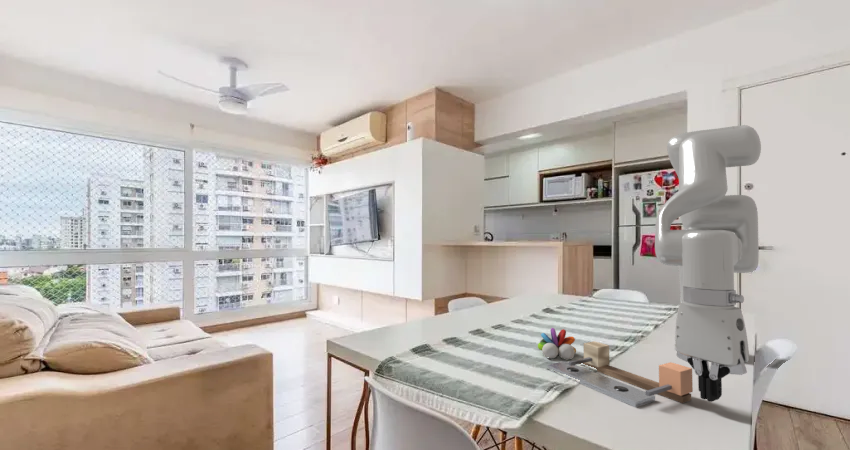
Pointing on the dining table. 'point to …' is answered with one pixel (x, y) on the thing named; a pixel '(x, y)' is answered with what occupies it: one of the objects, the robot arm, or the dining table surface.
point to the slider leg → (673, 380)
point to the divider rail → (619, 370)
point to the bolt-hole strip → (604, 384)
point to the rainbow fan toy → (557, 345)
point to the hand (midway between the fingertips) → (710, 398)
